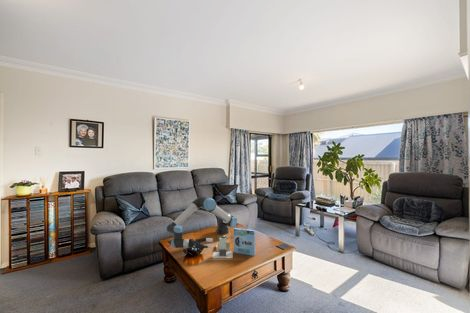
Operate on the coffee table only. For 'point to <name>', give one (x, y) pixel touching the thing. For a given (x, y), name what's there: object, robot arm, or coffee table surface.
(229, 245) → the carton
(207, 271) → the coffee table surface
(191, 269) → the coffee table surface
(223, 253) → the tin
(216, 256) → the board
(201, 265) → the coffee table surface
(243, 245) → the gum box
